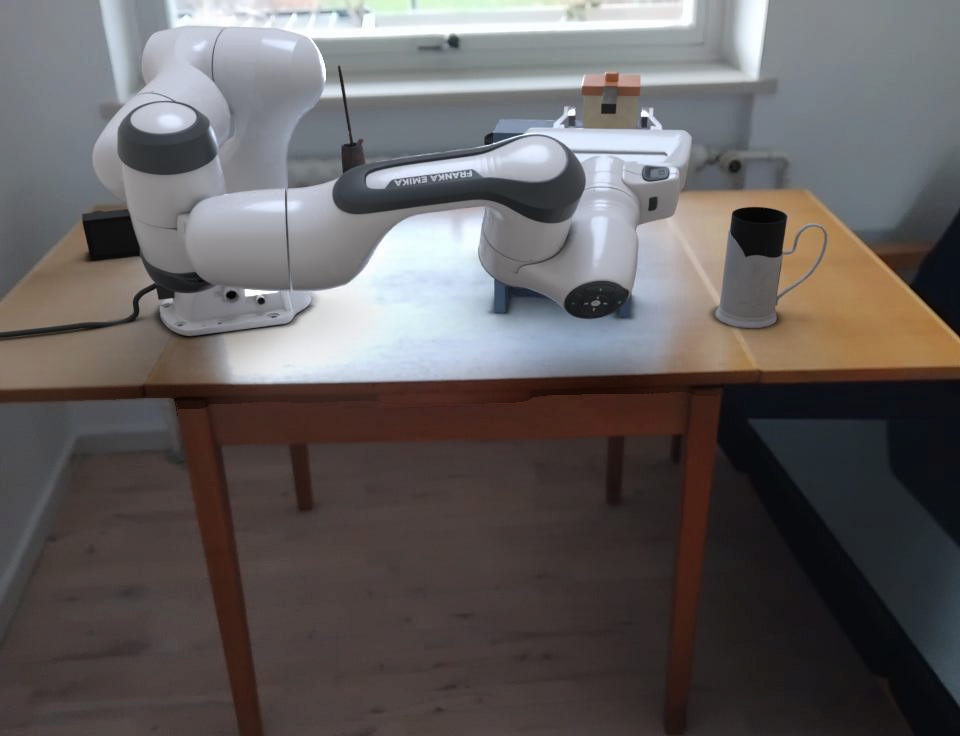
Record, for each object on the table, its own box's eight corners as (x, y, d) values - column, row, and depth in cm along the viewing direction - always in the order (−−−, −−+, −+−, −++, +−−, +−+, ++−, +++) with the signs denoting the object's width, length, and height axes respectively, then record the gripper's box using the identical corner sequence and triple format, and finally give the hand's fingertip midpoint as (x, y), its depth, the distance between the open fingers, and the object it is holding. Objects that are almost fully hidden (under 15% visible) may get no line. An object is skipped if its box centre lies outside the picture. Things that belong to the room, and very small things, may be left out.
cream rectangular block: (635, 135, 136) (637, 95, 133) (582, 134, 137) (583, 94, 134) (635, 122, 142) (637, 84, 139) (584, 122, 142) (586, 84, 140)
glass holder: (711, 304, 153) (722, 205, 145) (806, 304, 153) (823, 205, 145) (720, 328, 146) (733, 225, 138) (821, 328, 145) (839, 224, 137)
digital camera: (152, 243, 180) (145, 204, 177) (154, 253, 176) (146, 213, 172) (90, 250, 178) (81, 211, 174) (91, 261, 173) (81, 220, 169)
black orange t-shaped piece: (639, 114, 124) (641, 95, 123) (577, 113, 125) (577, 94, 124) (639, 84, 139) (641, 67, 138) (583, 83, 140) (584, 66, 139)
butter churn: (369, 214, 193) (357, 55, 178) (400, 225, 187) (391, 62, 172) (329, 224, 188) (313, 62, 173) (360, 236, 182) (347, 70, 167)
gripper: (515, 211, 124) (525, 129, 130) (687, 216, 121) (688, 132, 128) (513, 173, 118) (523, 89, 125) (692, 177, 116) (694, 91, 122)
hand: (608, 111), depth 126 cm, fingers open, 8 cm apart
